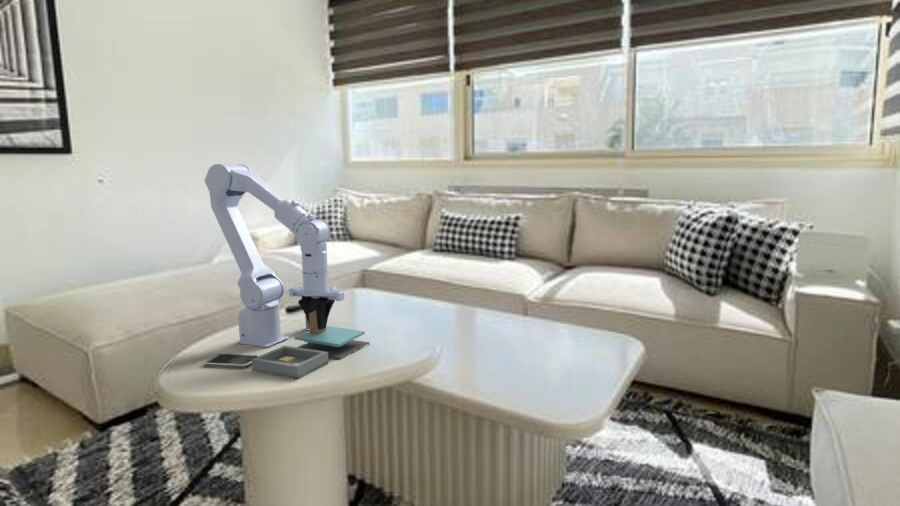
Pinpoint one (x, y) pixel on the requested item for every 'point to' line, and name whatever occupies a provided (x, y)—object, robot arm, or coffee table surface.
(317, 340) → the lid
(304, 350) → the tub
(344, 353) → the mat
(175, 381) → the coffee table surface
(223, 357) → the cell phone
